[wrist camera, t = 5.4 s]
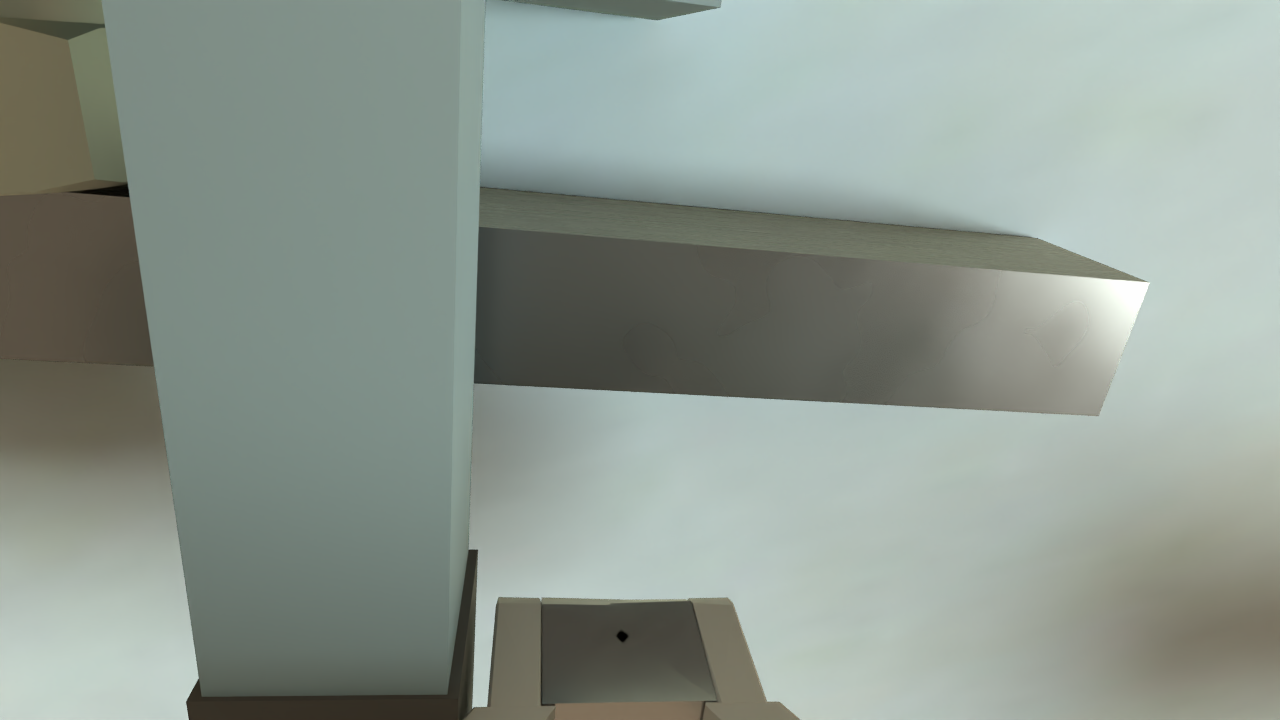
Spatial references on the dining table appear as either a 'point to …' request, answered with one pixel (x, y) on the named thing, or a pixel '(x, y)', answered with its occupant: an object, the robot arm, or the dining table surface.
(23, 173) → the pipe fitting
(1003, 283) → the frame
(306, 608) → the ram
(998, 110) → the dining table surface
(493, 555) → the dining table surface
